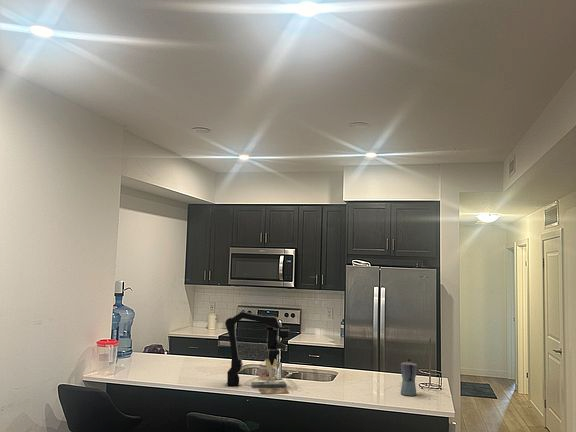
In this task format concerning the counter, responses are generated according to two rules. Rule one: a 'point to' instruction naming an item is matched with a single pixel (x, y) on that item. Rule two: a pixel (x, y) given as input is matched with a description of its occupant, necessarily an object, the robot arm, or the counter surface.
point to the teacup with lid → (266, 371)
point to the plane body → (268, 384)
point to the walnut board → (274, 391)
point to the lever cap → (270, 363)
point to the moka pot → (408, 378)
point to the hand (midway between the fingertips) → (271, 364)
